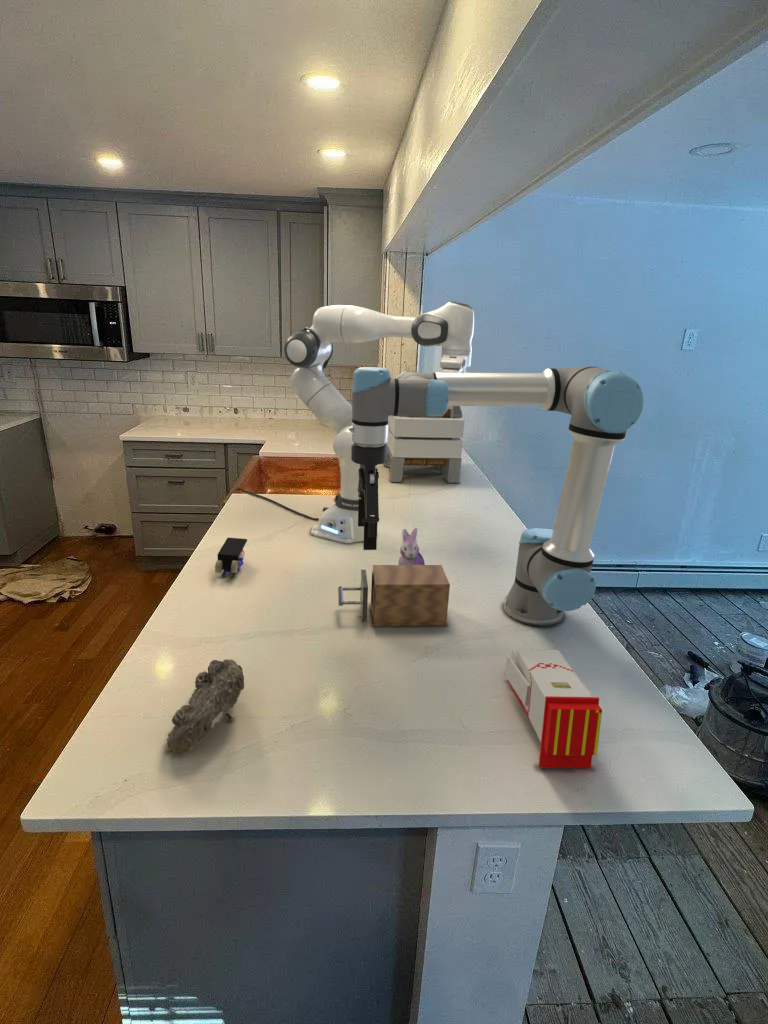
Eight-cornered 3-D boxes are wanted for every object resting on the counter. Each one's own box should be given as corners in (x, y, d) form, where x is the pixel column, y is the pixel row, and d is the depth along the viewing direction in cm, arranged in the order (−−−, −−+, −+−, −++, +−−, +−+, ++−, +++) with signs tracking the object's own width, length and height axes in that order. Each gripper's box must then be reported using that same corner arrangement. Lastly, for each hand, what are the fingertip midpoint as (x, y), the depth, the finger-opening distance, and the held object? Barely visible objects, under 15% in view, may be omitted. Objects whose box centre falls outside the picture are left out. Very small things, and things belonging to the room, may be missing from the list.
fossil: (192, 660, 117) (244, 628, 112) (224, 691, 120) (276, 661, 115) (142, 746, 98) (202, 712, 93) (182, 779, 101) (242, 748, 96)
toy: (554, 631, 124) (612, 705, 95) (548, 687, 127) (603, 776, 98) (499, 630, 124) (540, 704, 94) (495, 686, 126) (533, 775, 97)
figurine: (405, 586, 162) (408, 538, 157) (388, 572, 170) (390, 525, 165) (433, 580, 166) (436, 533, 161) (415, 566, 174) (418, 521, 169)
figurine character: (238, 584, 162) (249, 557, 175) (236, 562, 158) (247, 536, 172) (215, 584, 161) (227, 556, 175) (212, 561, 158) (225, 535, 171)
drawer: (338, 621, 141) (338, 587, 137) (337, 602, 150) (338, 569, 147) (429, 620, 143) (431, 587, 140) (423, 601, 152) (425, 569, 149)
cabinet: (374, 626, 141) (375, 584, 137) (371, 604, 152) (372, 564, 148) (446, 625, 143) (450, 584, 139) (438, 603, 154) (441, 564, 150)
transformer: (382, 463, 289) (386, 382, 275) (445, 464, 293) (451, 384, 279) (390, 482, 257) (394, 392, 243) (460, 483, 261) (468, 394, 247)
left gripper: (451, 356, 179) (447, 400, 184) (438, 361, 161) (435, 410, 165) (471, 358, 177) (467, 402, 182) (461, 363, 159) (456, 412, 164)
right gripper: (347, 430, 130) (346, 517, 137) (356, 458, 107) (354, 561, 114) (379, 431, 131) (376, 517, 138) (395, 458, 108) (391, 560, 115)
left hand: (451, 406), depth 174 cm, fingers open, 8 cm apart
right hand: (366, 537), depth 126 cm, fingers open, 13 cm apart
